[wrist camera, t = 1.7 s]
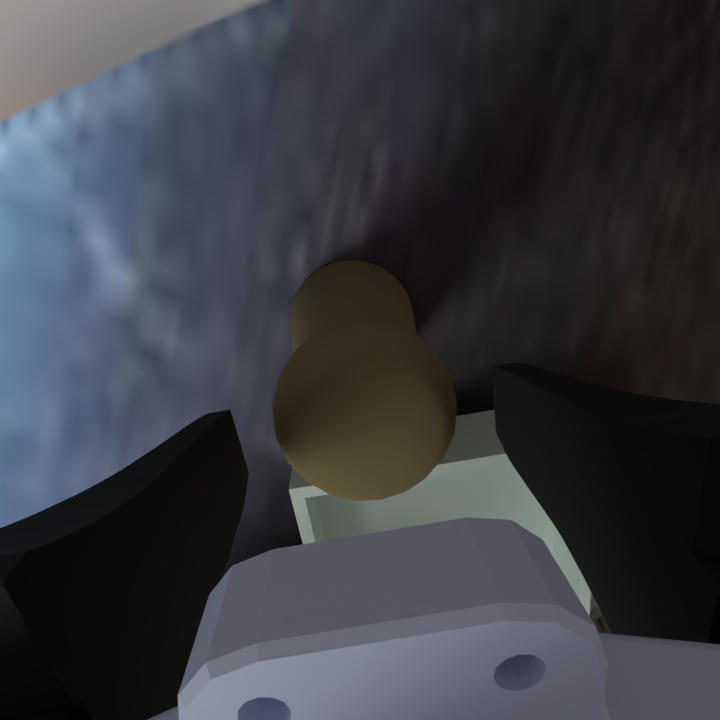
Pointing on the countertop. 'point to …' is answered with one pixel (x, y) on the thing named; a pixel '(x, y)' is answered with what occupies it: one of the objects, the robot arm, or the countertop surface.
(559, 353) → the countertop surface
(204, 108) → the countertop surface
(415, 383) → the brown rounded lobed piece
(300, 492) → the box
